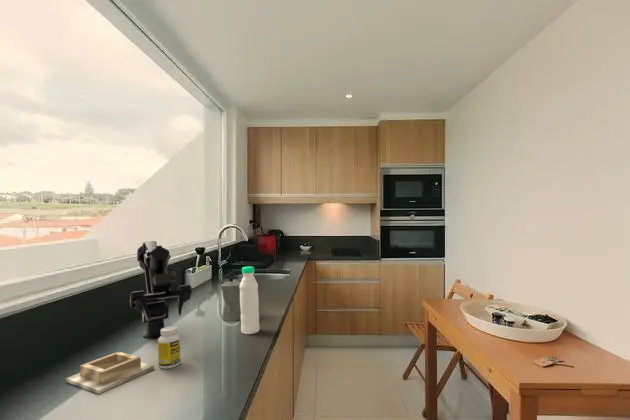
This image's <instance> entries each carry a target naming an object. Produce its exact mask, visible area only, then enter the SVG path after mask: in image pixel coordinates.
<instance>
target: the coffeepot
mask: <svg viewBox="0 0 630 420" xmlns="http://www.w3.org/2000/svg"><path fill="white" fill-rule="evenodd" d="M233 279H234V277H232V276H230V277H229V281H225V280H222V281H221V284H220V288H221V289H220V290H221V293H222V299H223V308H222V316H221V317H222V320H223V321H226V322H233V321H238V320H241V309H240V288H239V286H240V283H241V282H242V281H240V282H239V281H234V280H233Z"/></svg>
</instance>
